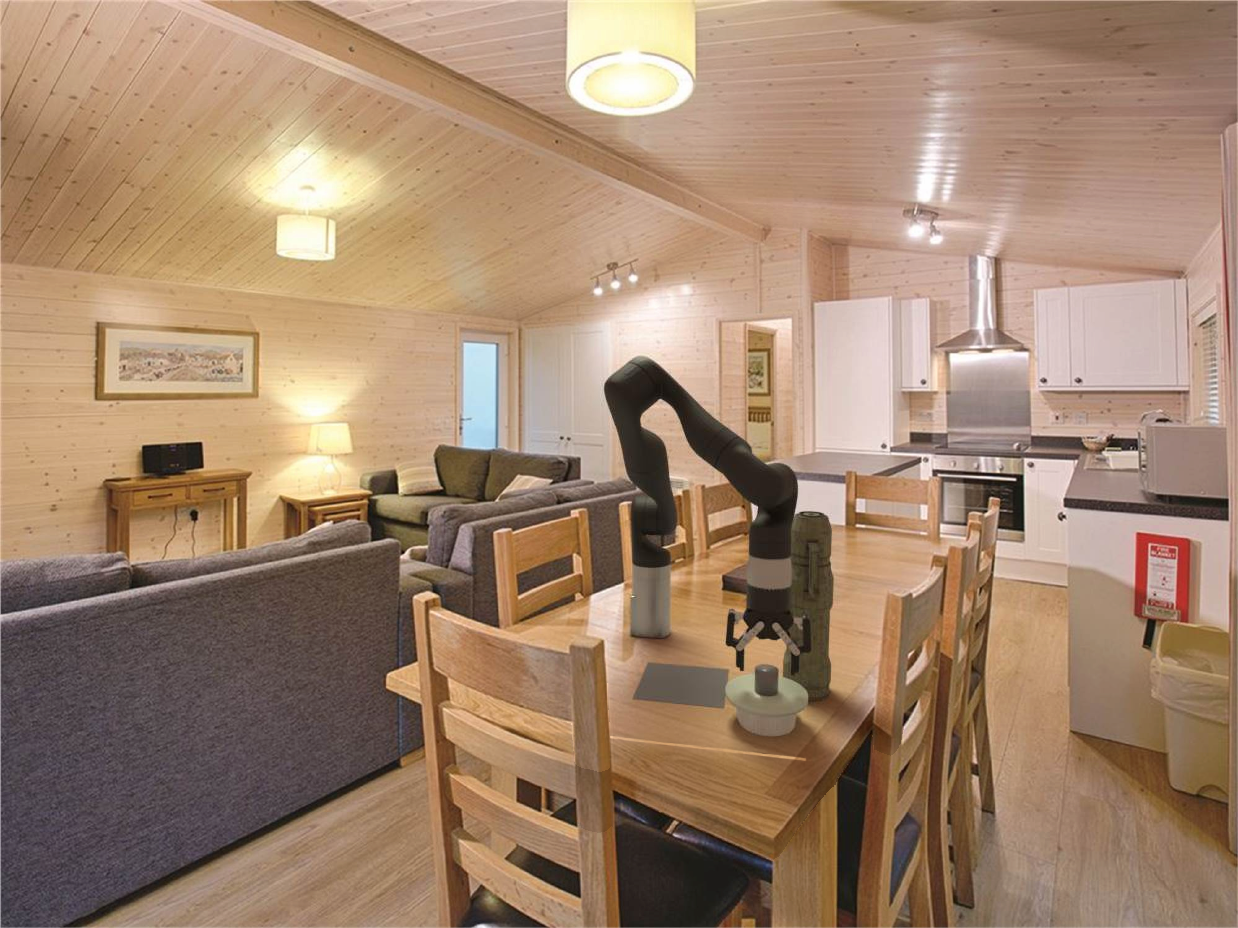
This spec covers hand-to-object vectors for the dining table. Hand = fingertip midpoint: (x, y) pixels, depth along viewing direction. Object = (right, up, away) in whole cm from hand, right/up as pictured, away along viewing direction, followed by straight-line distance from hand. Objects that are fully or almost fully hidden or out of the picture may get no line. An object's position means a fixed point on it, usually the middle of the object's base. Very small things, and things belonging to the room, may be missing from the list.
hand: (767, 671), depth 112 cm
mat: (-13, -8, +16) cm, 22 cm away
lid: (0, -4, 0) cm, 5 cm away
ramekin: (0, -10, +1) cm, 10 cm away
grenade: (+11, -8, +14) cm, 19 cm away
